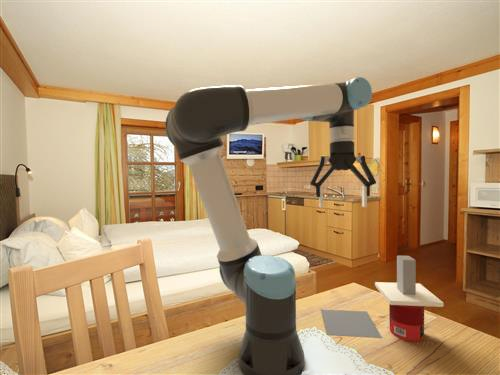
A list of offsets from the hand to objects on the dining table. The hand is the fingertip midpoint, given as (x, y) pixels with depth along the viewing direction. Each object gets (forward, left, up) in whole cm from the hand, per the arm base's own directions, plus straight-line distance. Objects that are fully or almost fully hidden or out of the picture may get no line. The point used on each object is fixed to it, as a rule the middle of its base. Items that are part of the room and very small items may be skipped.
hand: (342, 207), depth 89 cm
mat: (-1, -12, -33) cm, 35 cm away
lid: (+13, -16, -22) cm, 30 cm away
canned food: (+13, -16, -33) cm, 39 cm away
